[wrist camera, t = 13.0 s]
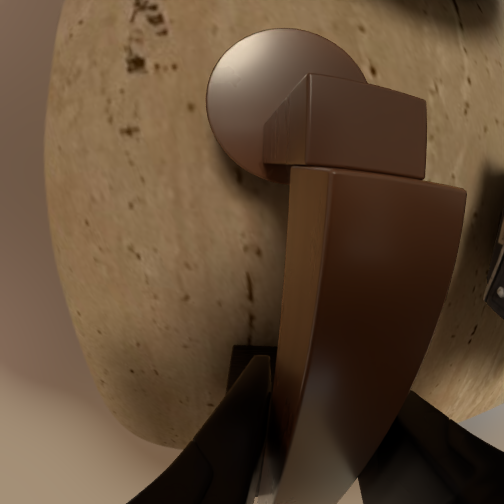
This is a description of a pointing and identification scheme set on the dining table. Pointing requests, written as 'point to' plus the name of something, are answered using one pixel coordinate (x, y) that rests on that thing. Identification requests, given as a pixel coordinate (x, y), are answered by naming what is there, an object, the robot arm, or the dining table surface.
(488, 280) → the camera
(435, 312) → the ladle
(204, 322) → the dining table surface
